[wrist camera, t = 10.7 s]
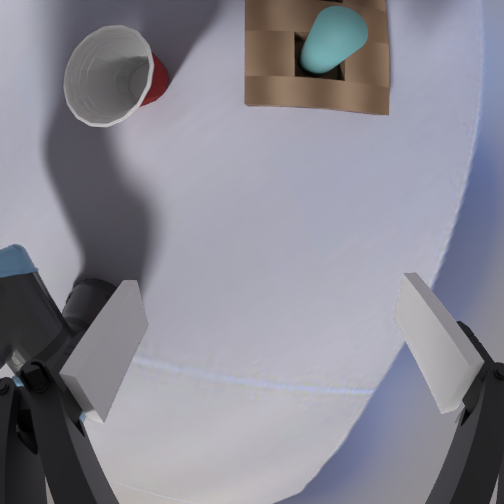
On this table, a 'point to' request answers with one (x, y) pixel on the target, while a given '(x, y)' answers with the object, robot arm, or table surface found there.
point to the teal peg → (332, 40)
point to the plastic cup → (112, 76)
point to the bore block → (290, 45)
